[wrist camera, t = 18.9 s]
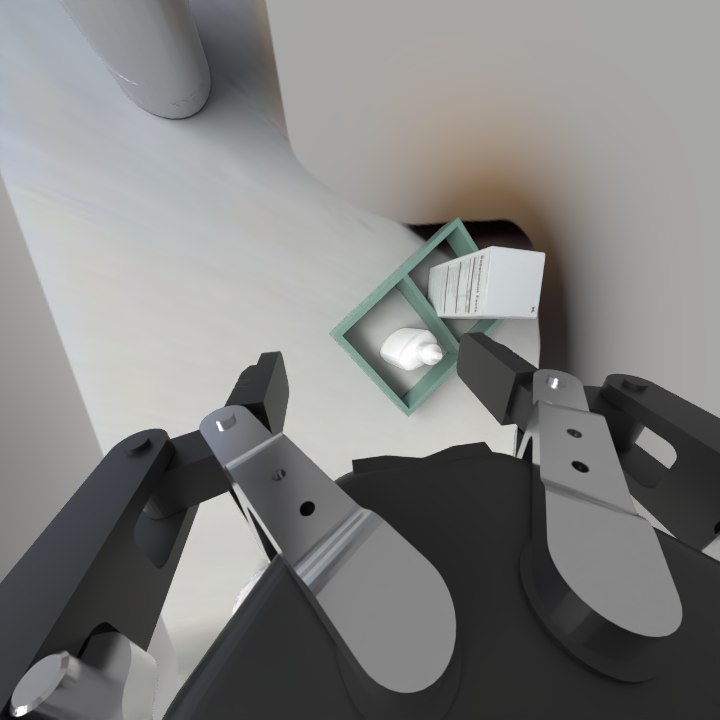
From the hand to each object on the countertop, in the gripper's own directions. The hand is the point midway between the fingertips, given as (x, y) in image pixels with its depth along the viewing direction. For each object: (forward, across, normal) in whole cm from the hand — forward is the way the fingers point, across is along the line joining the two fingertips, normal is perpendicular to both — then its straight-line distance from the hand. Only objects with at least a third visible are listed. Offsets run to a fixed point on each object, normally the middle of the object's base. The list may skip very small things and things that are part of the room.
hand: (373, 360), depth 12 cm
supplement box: (+28, -16, +6) cm, 33 cm away
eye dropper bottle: (+25, -7, +12) cm, 28 cm away
